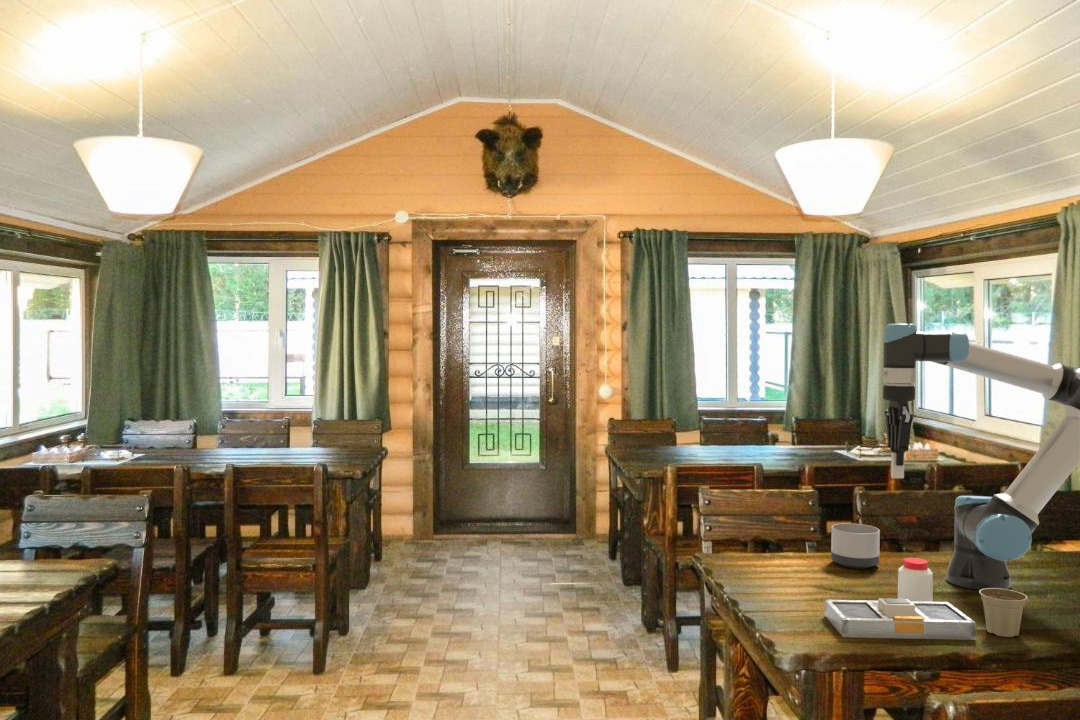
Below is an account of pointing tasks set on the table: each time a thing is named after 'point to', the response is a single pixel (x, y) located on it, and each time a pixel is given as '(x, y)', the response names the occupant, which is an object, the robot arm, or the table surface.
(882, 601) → the white block
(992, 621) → the flower pot
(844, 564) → the planter
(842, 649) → the table surface
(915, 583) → the pill bottle
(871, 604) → the tray
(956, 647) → the table surface
